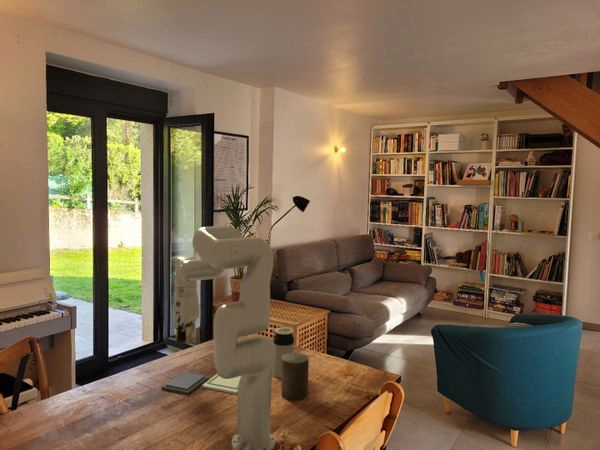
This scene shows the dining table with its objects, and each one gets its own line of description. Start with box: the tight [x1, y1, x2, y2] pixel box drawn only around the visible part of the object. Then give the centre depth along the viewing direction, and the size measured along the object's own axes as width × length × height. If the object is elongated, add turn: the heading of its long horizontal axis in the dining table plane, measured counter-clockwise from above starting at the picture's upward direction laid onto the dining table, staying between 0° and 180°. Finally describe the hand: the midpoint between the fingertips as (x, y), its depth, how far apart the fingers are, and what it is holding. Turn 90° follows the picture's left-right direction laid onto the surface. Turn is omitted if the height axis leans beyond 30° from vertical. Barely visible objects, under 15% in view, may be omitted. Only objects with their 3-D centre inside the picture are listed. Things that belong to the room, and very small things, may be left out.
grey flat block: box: [161, 371, 210, 395], centre depth 171 cm, size 14×11×2 cm
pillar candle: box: [280, 352, 310, 401], centre depth 165 cm, size 10×10×15 cm
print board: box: [201, 373, 241, 395], centre depth 174 cm, size 16×14×1 cm
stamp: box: [175, 322, 197, 345], centre depth 169 cm, size 5×5×8 cm
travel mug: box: [272, 326, 295, 379], centre depth 181 cm, size 8×8×18 cm
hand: (185, 338), depth 170 cm, fingers closed on stamp, 5 cm apart
